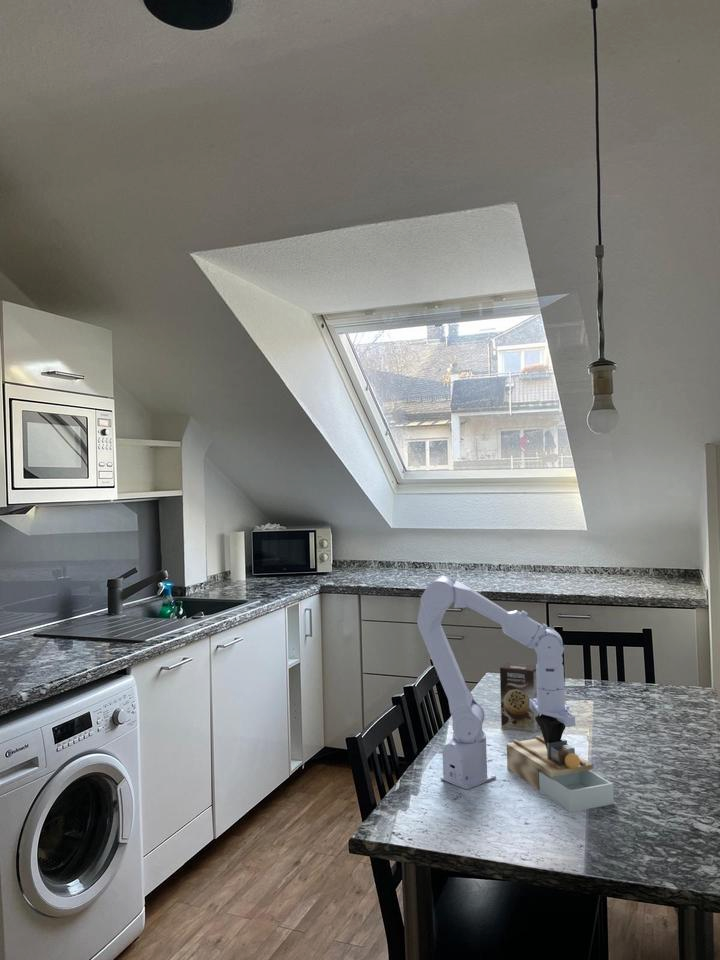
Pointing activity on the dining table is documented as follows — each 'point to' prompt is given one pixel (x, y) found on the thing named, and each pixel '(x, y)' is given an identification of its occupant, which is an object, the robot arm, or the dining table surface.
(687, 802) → the dining table surface
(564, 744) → the brushed steel stepped cube
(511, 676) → the coffee box
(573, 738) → the dining table surface
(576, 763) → the ball
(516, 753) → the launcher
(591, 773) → the open box
